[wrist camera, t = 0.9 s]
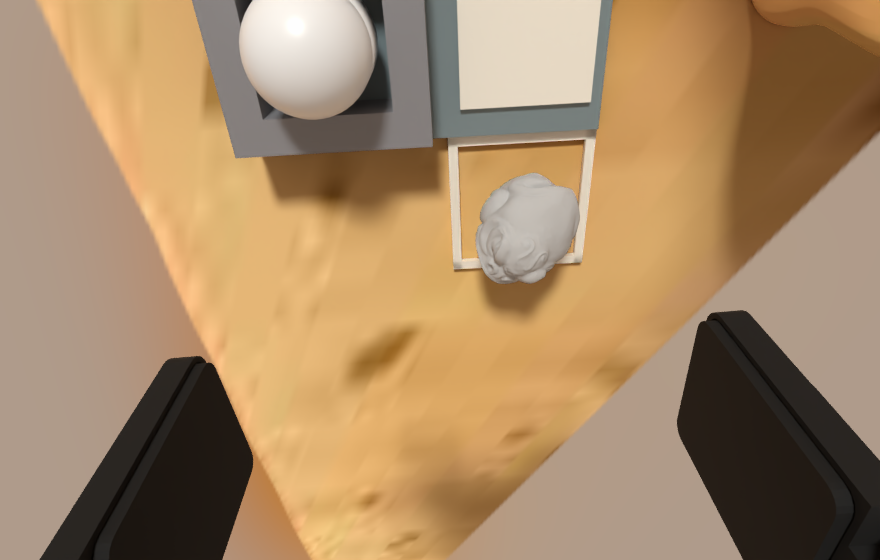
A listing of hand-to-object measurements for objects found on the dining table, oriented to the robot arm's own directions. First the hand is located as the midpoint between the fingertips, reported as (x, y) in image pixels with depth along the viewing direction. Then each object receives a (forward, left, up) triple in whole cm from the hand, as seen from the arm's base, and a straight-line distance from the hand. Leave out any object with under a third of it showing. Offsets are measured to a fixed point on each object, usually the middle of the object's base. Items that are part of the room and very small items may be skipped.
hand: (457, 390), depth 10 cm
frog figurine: (+7, +5, -25) cm, 27 cm away
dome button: (-3, -6, -22) cm, 23 cm away
